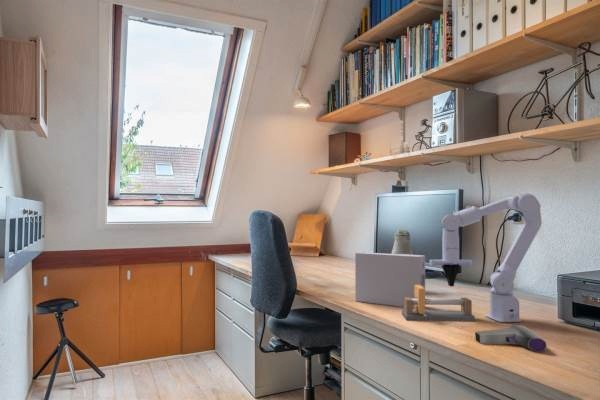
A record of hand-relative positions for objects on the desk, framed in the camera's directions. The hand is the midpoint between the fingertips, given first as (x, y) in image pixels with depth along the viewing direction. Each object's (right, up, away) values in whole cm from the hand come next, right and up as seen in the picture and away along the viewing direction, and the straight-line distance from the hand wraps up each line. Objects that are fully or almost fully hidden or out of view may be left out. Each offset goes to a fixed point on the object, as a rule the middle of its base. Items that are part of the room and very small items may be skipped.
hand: (451, 285), depth 154 cm
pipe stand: (-6, -10, -4) cm, 13 cm away
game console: (-18, -11, +18) cm, 28 cm away
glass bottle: (-7, -12, +46) cm, 48 cm away
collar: (-12, -8, -4) cm, 15 cm away
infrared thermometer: (+4, -10, -34) cm, 36 cm away
